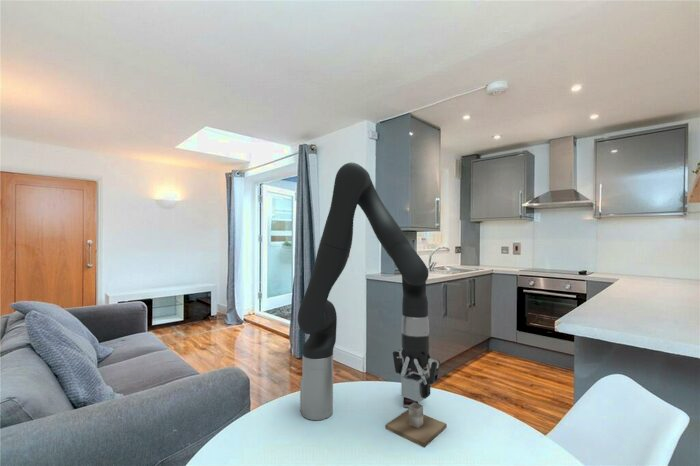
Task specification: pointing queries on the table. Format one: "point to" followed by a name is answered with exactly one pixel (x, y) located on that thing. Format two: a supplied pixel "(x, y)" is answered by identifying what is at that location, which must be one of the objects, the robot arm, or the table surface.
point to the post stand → (416, 425)
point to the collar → (412, 386)
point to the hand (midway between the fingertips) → (415, 393)
